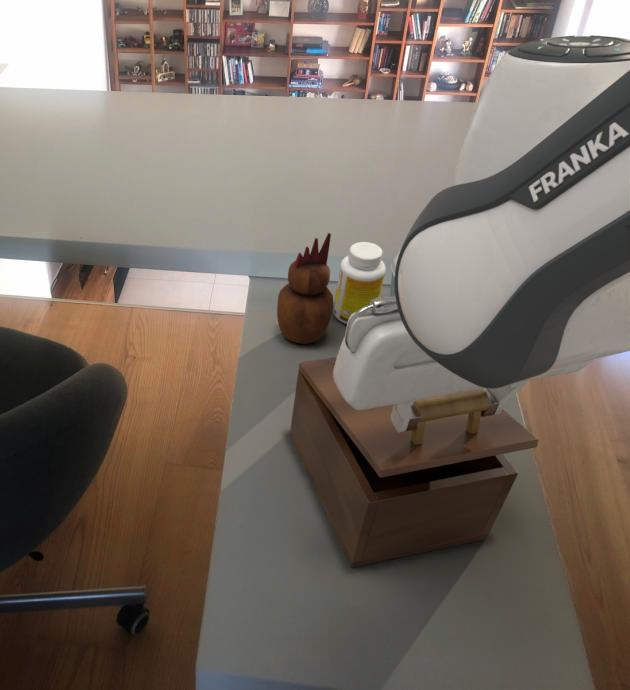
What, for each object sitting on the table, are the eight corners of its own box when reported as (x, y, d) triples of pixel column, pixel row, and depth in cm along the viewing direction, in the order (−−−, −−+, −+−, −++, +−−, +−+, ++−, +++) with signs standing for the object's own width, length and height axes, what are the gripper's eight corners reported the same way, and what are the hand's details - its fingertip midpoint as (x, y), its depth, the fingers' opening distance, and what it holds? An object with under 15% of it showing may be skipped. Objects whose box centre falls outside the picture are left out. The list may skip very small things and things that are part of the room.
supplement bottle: (383, 322, 91) (398, 257, 84) (346, 332, 90) (358, 266, 83) (360, 298, 95) (373, 234, 88) (324, 308, 94) (334, 243, 87)
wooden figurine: (328, 324, 91) (344, 224, 81) (327, 352, 87) (344, 251, 77) (276, 318, 92) (286, 220, 82) (272, 346, 88) (282, 246, 78)
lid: (537, 447, 57) (548, 398, 54) (380, 478, 54) (384, 428, 52) (424, 348, 72) (429, 306, 70) (298, 369, 70) (299, 327, 68)
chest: (486, 539, 66) (518, 473, 60) (351, 568, 64) (368, 503, 57) (405, 414, 78) (424, 348, 72) (289, 435, 76) (298, 369, 70)
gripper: (372, 333, 44) (340, 470, 53) (654, 287, 47) (578, 424, 56) (334, 276, 48) (311, 411, 58) (593, 238, 51) (531, 372, 61)
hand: (444, 417), depth 57 cm, fingers closed on lid, 6 cm apart
